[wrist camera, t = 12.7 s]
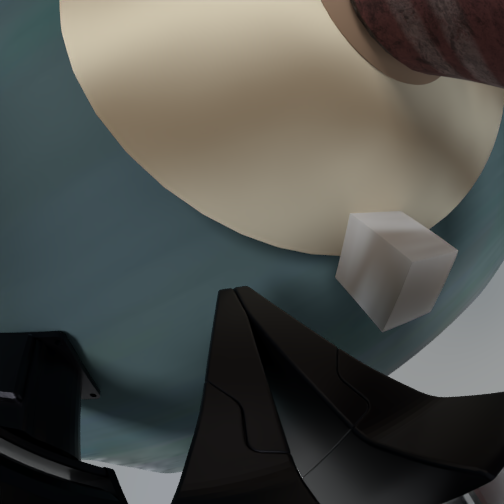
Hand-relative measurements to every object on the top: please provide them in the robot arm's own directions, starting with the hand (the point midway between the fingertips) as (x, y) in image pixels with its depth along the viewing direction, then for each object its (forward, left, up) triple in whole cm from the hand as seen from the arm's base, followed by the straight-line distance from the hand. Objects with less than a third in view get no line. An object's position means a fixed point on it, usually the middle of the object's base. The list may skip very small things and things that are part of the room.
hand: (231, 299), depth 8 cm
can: (+11, -7, -2) cm, 13 cm away
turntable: (+11, -7, -3) cm, 13 cm away
